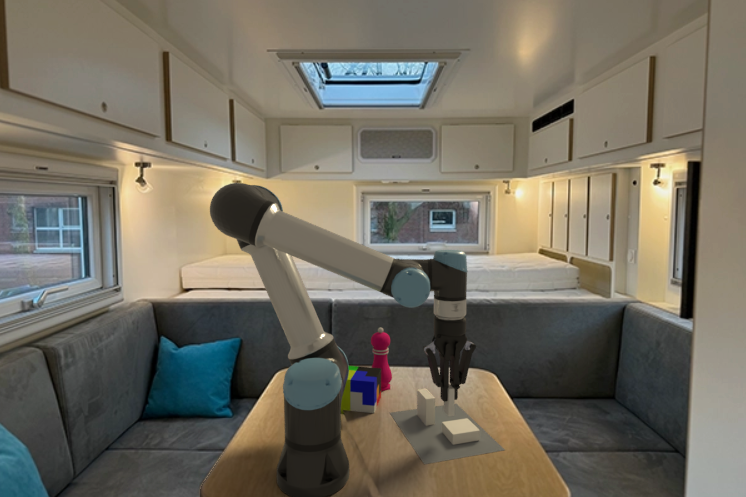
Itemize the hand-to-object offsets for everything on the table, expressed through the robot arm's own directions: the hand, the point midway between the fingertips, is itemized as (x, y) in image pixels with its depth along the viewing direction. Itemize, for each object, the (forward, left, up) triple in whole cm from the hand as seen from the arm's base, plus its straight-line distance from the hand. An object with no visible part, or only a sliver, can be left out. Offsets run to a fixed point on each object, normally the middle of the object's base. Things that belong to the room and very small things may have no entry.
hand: (448, 412), depth 100 cm
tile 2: (0, 0, -5) cm, 5 cm away
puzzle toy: (+15, +24, -8) cm, 30 cm away
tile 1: (+9, +6, -6) cm, 12 cm away
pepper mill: (+27, +20, -8) cm, 35 cm away
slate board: (+4, +1, -8) cm, 9 cm away
